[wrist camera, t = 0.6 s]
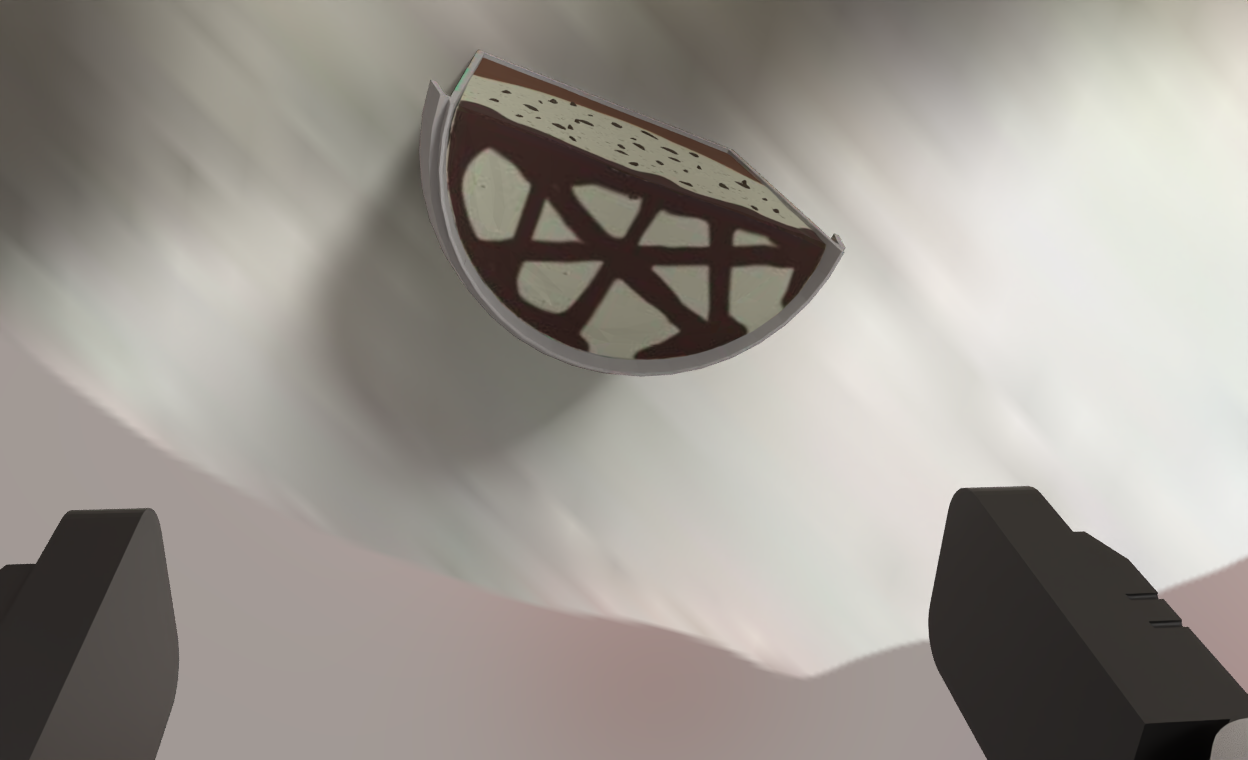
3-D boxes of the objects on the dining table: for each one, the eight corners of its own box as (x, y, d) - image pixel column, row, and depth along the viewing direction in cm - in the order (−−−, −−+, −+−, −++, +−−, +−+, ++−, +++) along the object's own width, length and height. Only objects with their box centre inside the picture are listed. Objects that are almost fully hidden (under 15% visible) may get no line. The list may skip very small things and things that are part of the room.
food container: (375, 205, 40) (353, 315, 31) (433, 32, 37) (429, 95, 28) (699, 318, 43) (766, 446, 34) (770, 164, 41) (861, 258, 32)
